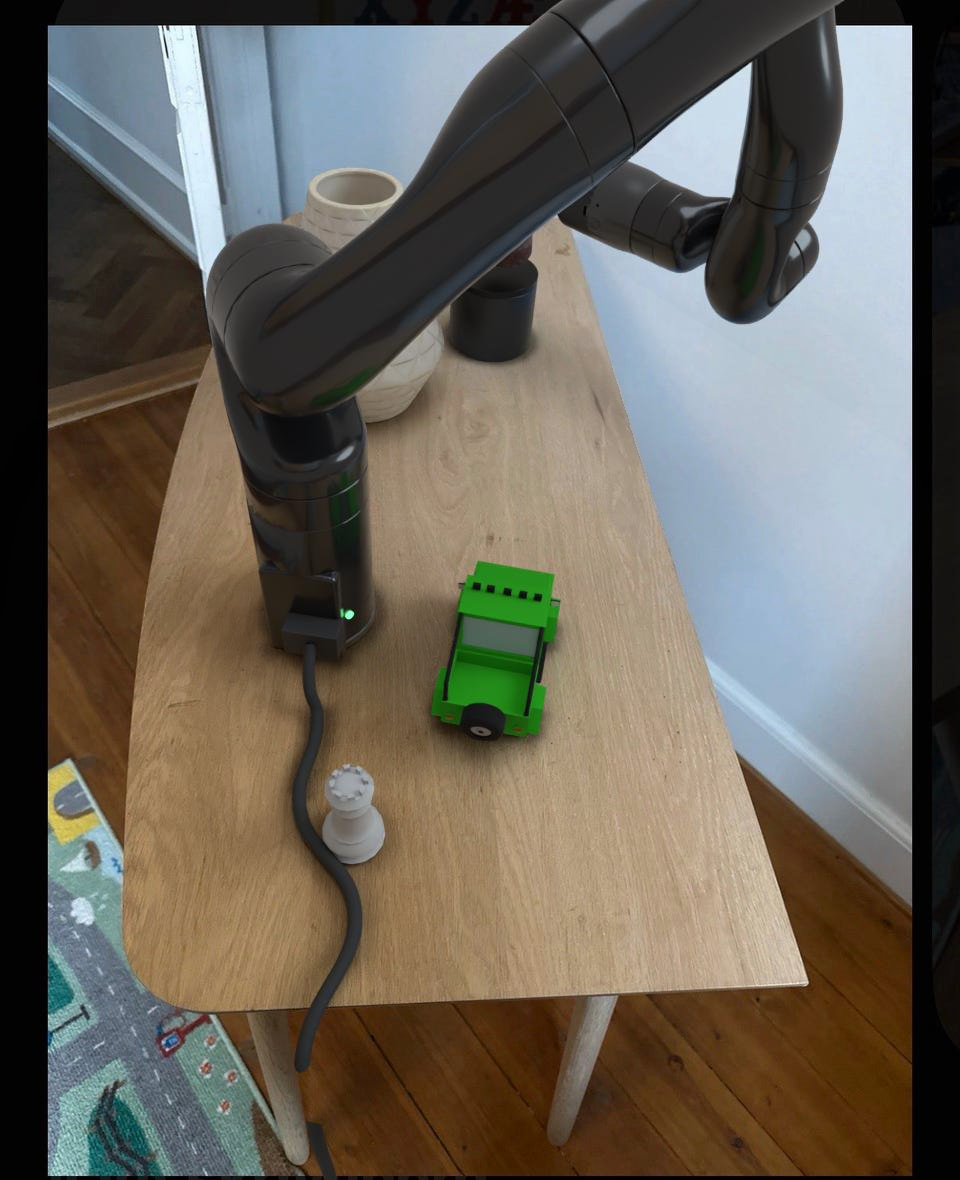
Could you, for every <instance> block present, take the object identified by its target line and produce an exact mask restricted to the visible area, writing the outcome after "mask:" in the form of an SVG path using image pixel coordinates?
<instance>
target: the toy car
mask: <svg viewBox="0 0 960 1180" xmlns="http://www.w3.org/2000/svg"><path fill="white" fill-rule="evenodd" d="M555 575H556V574H555V573H549V572H544V571H540V570H539V571H538V570H534V569H528V568H522V567H517V566H511V565H505V564H499V563H493V562H489V561H482V560H477V561H476V565H475V568H474V572H473V574H467V576H466V580H465V581H463V582H458V584H457V585H458V590H461V591H460V593H459V597H458V601H457V609H456V614H455V621H454V625H455V629H454V633H453V639H452V641H451V642H452V643H451V646H450V652H449V657H448V661H447V665H446V667H443V666H440V667H439V670H438V671H439V672H438V675H437V677H436V678H437V679H436V682H435V685H434V689H433V690H434V691H433V695H432V696H433V697H432V705H431V711H430V715H432V716H437V717H440V722H442V723H446V724H447V723H448V724H452V725H458V726H459V729H460V731H461V733H462V734H463V735H465V736H466V737H468V738H470V739H472V740H475V741H478V742H484V743H487V742H496V741H498V740H500V739H501V738H502V737H503V736H504V734H505V735H509V736H515V737H520V738H525V739H526V738H527V734H529V735H530V734H531V735H536V736H539V733H540V729H541V727H540V726H541V722H542V717H543V713H544V712H543V711H544V704H545V699H546V693H547V687H548V686H546V685H539V684H540V683H541V682H542V678H543V673H544V668H545V662H546V655H547V650H548V645H547V644H549V643H553V644H554V641H555V637H556V630H557V625H558V620H559V616H560V615H559V614H560V609H561V602H562V599H561V598H554V597H552V595H553V588H554V581H555Z"/></svg>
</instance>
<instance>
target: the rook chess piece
mask: <svg viewBox="0 0 960 1180" xmlns="http://www.w3.org/2000/svg"><path fill="white" fill-rule="evenodd" d="M375 789H376V788H375V783H374V779H373V777H372V776H371V774H370V773H369V772H368V771H366V770H364V768H363V767H362V766H359V764H357V765H356V766H351V763H347V764H342V767H340V768H338V769H337V768H335V769H334V770H333V771H332V772H331V774H330V776H329V777H328V778H327V779H326V782H325V785H324V789H323V791H324V797H325V799H326V800H327V802H328V803H329V808H330V809H331V810H330V811H329V813H327V815H326V816H325V819H324V822H323V825H322V829H321V831H322V835H321V836H322V837H321V838H322V841H323V842H324V843H325V844H326V845H327V847H328V848H329V849H330V850H331V851H332V852H333V853H334V855H335V856H336V857H337V858H338V859H339V860H340V862H341V863H342V864H348V865H355V864H361V863H365V862H367V861H368V860H370V859H371V858H373V857H375V856H376V855H377V853H379V851H380V849H381V848H382V847H383V845H384V841H385V837H386V831H385V825H384V819H383V817H382V815H381V814H380V812H379V811H378V810H377V808H376V807H375V806H374V805H372V800H373V795H374V792H375Z"/></svg>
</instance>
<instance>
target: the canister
mask: <svg viewBox="0 0 960 1180" xmlns="http://www.w3.org/2000/svg"><path fill="white" fill-rule="evenodd" d="M538 281H539V270H538V268H537V266H536V264H534V263H533V262H532V261H531V260H530V259H528V260H527V261H526V262H525V263H523V264H521V265H519V266H514V267H496V266H495V267H493V268H492V269H491V270H490V271H488V272H487V273H486V274H485V275H483V276H482V277H481V278H480V279H479V280H477V281H476V282H475V283H474V284H473V285H472V286H470V287H469V288H468V289H467V290H466V291H465V292H463V293H462V294H461V295H460V296H459V297H458V298H457V299H456V300H455V301H454V302H453V303H452V304H450V305H449V328H448V330H449V331H448V339H449V342H450V344H451V346H452V348H454V349H455V350H456V351H457V352H458V353H460V354H461V355H463V356H465V357H467V358H469V359H473V360H477V361H480V362H481V361H482V362H487V363H488V362H489V363H490V362H491V363H498V362H499V363H500V362H506V361H510V360H514V359H516V358H519V357H520V356H523V354H525V353H526V352H527V350H528V349H529V347H530V345H531V338H532V330H533V321H534V313H535V305H536V297H537V290H538V289H537V288H538Z"/></svg>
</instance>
